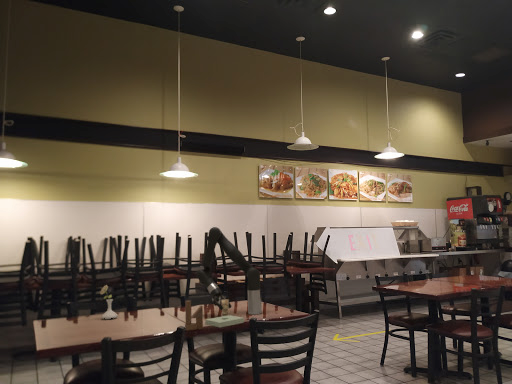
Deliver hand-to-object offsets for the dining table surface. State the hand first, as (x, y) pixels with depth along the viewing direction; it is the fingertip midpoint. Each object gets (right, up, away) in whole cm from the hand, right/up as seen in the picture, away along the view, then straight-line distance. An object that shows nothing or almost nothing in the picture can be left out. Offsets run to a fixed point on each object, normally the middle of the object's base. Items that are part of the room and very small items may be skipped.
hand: (226, 308), depth 298 cm
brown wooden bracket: (-18, -5, -32) cm, 37 cm away
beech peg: (-1, -7, 0) cm, 7 cm away
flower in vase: (-88, -12, +14) cm, 90 cm away
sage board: (0, -5, -16) cm, 17 cm away
